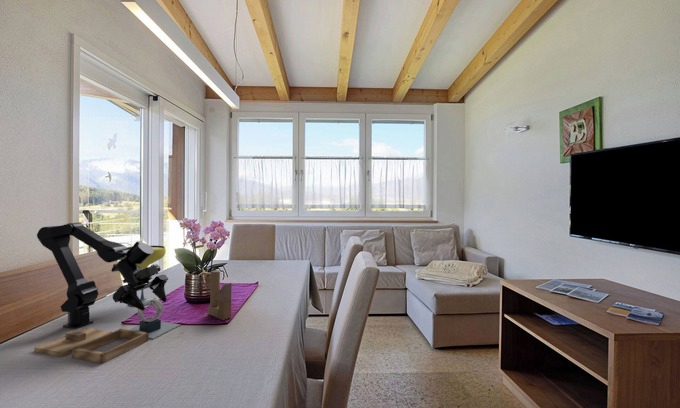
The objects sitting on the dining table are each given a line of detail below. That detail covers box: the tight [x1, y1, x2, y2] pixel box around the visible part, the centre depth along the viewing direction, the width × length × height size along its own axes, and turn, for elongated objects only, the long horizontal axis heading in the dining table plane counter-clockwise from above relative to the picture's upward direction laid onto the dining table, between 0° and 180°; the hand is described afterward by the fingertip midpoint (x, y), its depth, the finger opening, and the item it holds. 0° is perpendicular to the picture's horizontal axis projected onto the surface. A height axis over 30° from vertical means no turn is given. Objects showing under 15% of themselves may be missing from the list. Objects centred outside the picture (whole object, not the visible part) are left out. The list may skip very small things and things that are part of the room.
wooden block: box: [207, 270, 232, 321], centre depth 123 cm, size 4×11×18 cm, turn 55°
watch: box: [137, 297, 164, 333], centre depth 109 cm, size 6×8×11 cm
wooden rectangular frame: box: [71, 328, 149, 364], centre depth 95 cm, size 12×15×2 cm
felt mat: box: [129, 321, 181, 340], centre depth 109 cm, size 14×12×1 cm
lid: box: [33, 327, 113, 358], centre depth 98 cm, size 12×15×3 cm
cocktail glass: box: [124, 245, 167, 308], centre depth 138 cm, size 18×18×25 cm
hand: (155, 305), depth 109 cm, fingers open, 9 cm apart
